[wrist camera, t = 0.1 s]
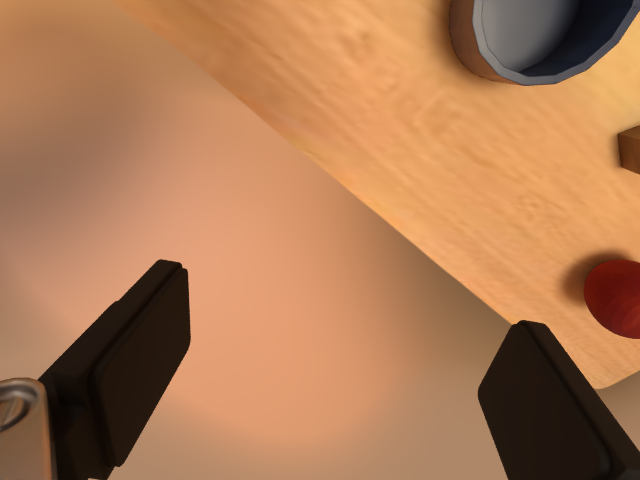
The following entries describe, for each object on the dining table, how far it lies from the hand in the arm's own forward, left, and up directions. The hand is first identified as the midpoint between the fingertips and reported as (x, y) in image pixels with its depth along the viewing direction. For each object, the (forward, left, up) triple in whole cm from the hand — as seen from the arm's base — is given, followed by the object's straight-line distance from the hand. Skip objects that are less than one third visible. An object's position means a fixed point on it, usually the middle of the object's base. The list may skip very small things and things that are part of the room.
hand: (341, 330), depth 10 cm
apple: (+35, +24, -37) cm, 57 cm away
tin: (-3, +20, -37) cm, 43 cm away
